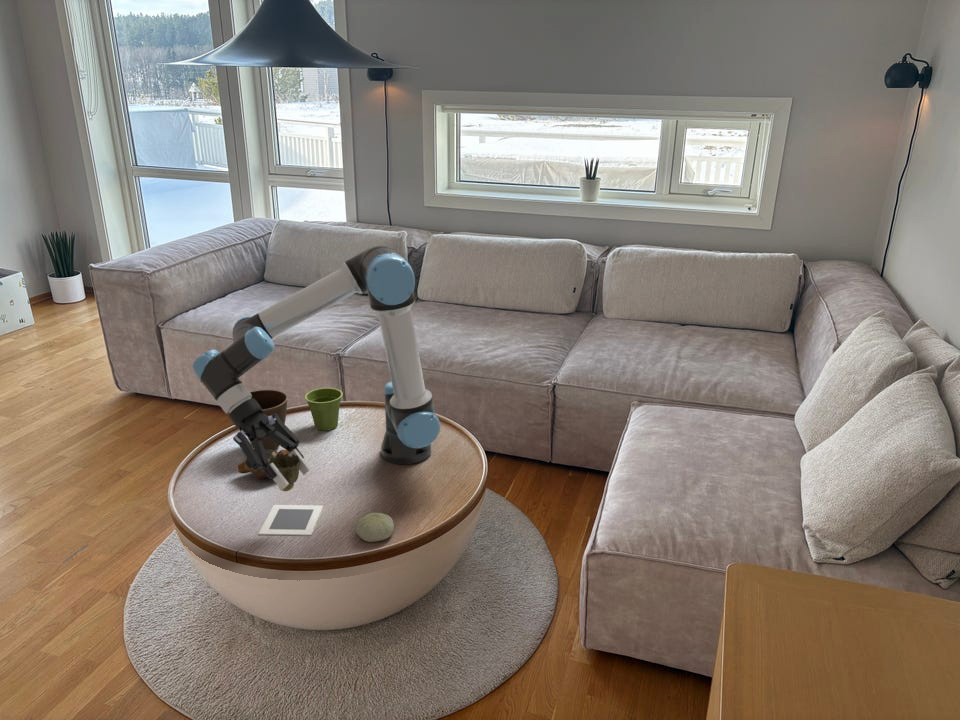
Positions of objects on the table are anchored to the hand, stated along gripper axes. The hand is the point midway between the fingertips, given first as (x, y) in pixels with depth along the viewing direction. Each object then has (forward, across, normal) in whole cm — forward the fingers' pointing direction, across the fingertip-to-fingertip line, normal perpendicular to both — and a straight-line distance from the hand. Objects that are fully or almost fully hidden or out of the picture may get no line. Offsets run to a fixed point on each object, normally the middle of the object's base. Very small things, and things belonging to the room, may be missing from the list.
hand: (296, 479), depth 175 cm
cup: (0, 0, -5) cm, 5 cm away
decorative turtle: (-8, -14, -26) cm, 31 cm away
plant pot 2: (-12, -48, -30) cm, 57 cm away
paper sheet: (+7, 0, -11) cm, 13 cm away
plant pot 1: (-16, -28, -35) cm, 47 cm away
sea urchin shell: (+23, -5, +4) cm, 24 cm away
